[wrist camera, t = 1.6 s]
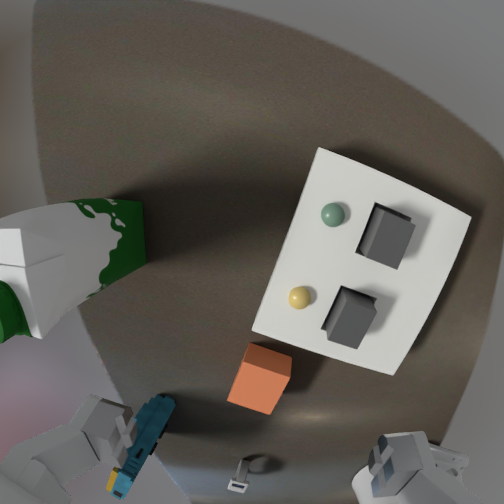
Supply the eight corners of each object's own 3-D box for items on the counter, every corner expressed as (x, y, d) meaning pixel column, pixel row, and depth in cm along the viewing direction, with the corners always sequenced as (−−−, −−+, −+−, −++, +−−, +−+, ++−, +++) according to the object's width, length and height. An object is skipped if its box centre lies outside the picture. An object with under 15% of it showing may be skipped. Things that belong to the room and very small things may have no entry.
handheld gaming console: (162, 434, 42) (124, 503, 27) (140, 421, 42) (97, 487, 27) (181, 401, 39) (137, 480, 24) (155, 386, 39) (104, 461, 25)
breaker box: (453, 211, 27) (474, 218, 23) (385, 355, 32) (394, 378, 28) (316, 150, 28) (319, 146, 24) (257, 313, 33) (250, 333, 29)
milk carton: (95, 267, 36) (-28, 334, 16) (88, 194, 33) (-52, 225, 14) (154, 272, 34) (31, 363, 15) (150, 191, 32) (-1, 223, 13)
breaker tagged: (367, 292, 29) (377, 311, 25) (350, 326, 30) (357, 349, 26) (340, 282, 29) (346, 301, 25) (324, 317, 30) (327, 340, 26)
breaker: (399, 217, 27) (415, 225, 22) (384, 255, 28) (397, 269, 24) (372, 205, 27) (384, 211, 23) (356, 245, 28) (366, 257, 24)
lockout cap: (292, 357, 34) (290, 377, 30) (273, 393, 36) (269, 415, 32) (249, 342, 35) (243, 361, 31) (234, 380, 36) (227, 400, 32)
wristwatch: (248, 474, 41) (242, 497, 37) (231, 470, 42) (225, 493, 37) (256, 455, 40) (251, 480, 35) (239, 451, 40) (232, 475, 35)
